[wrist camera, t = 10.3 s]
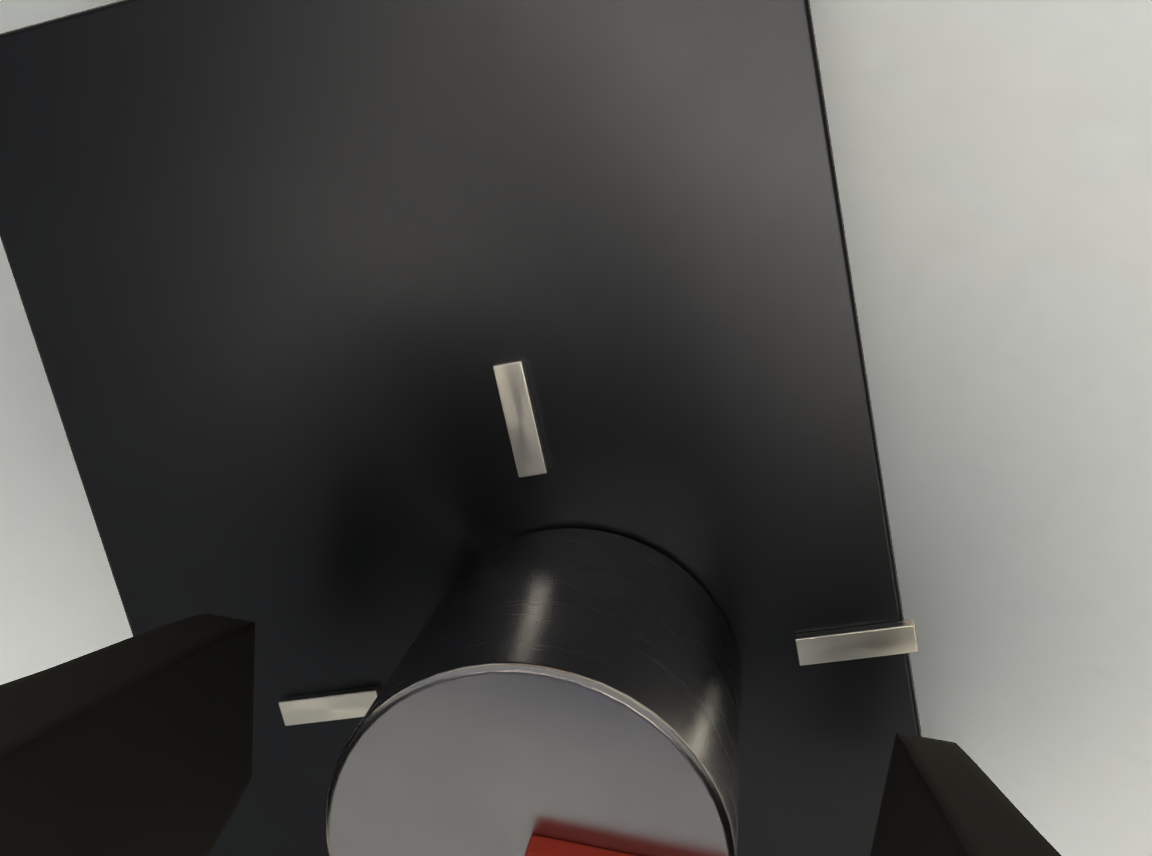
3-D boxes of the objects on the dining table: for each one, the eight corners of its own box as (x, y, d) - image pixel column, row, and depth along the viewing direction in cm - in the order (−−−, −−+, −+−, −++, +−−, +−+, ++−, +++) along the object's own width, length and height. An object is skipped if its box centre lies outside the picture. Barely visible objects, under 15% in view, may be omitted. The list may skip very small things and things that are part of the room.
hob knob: (417, 781, 15) (302, 1004, 11) (439, 501, 14) (320, 645, 10) (715, 839, 14) (701, 1095, 10) (765, 555, 13) (770, 728, 9)
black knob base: (82, 62, 16) (-74, 49, 13) (784, -122, 14) (792, -189, 11) (334, 889, 19) (255, 1031, 16) (931, 839, 17) (970, 991, 14)
